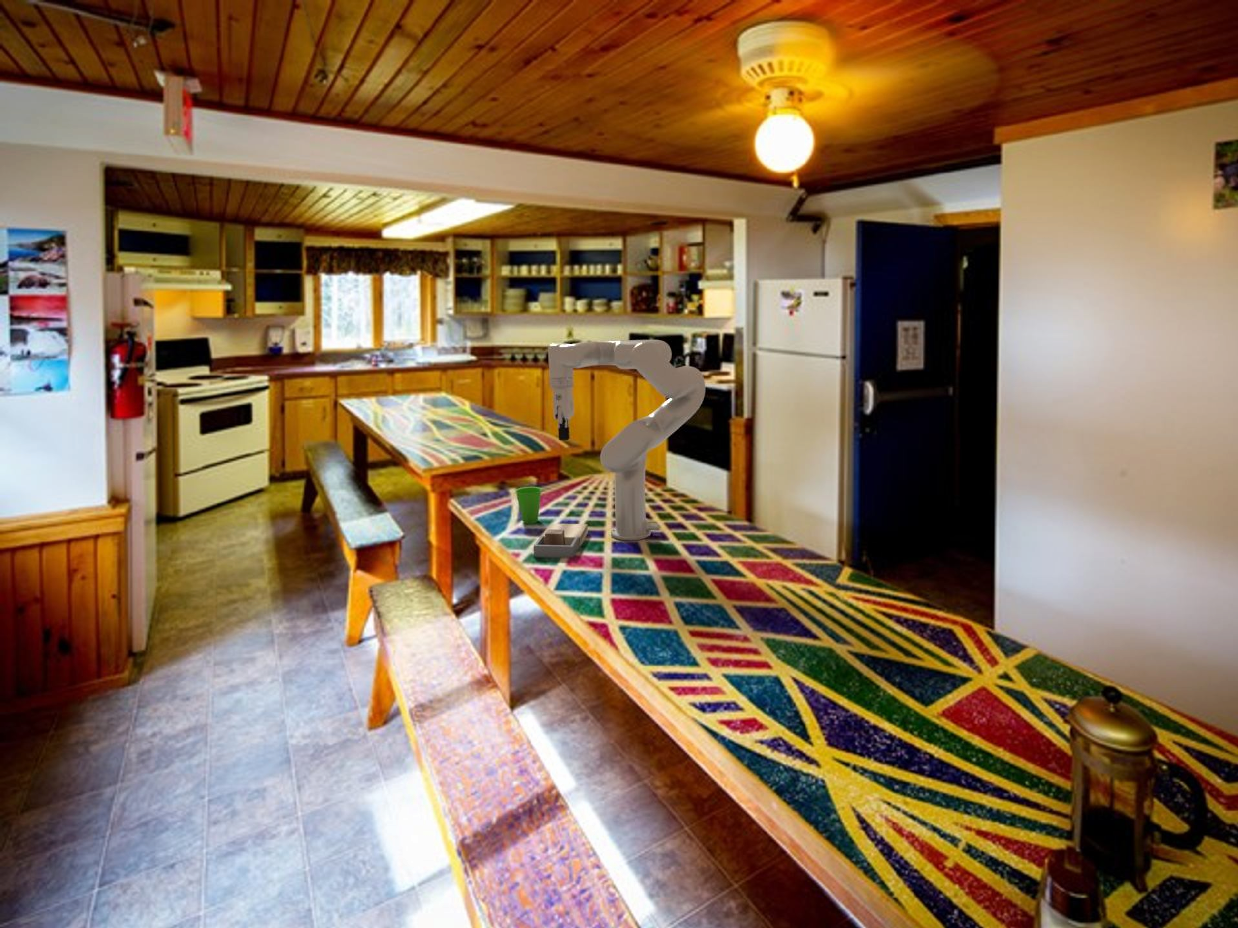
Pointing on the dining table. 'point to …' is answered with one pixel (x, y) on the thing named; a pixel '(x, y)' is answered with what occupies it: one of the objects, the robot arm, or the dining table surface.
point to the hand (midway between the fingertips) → (564, 439)
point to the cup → (529, 503)
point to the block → (554, 537)
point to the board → (570, 532)
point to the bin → (555, 549)
